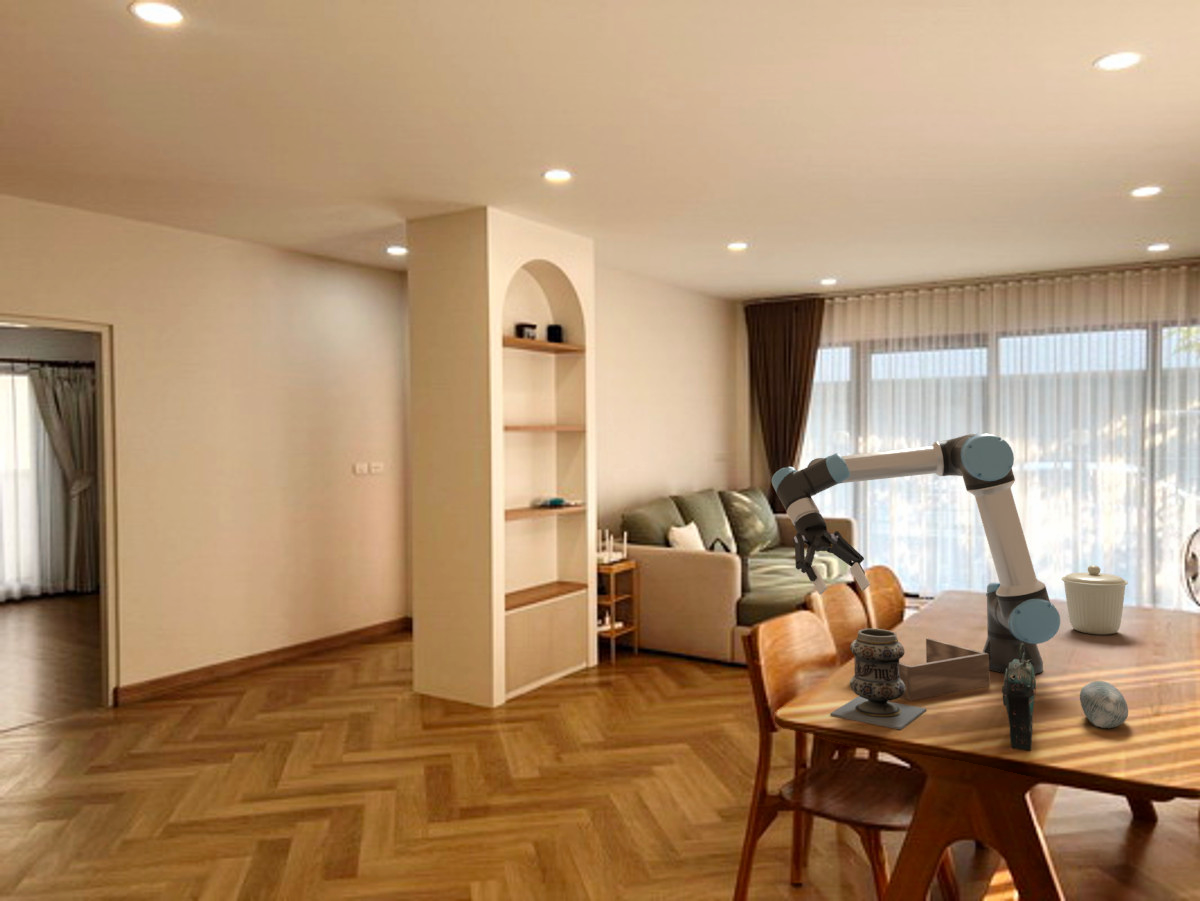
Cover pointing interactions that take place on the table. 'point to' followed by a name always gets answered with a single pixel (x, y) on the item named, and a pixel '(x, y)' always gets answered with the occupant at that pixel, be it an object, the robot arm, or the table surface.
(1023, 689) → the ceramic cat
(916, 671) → the walnut u-shaped frame
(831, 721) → the table surface
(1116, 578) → the canister
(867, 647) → the apothecary jar
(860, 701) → the rubber mat
